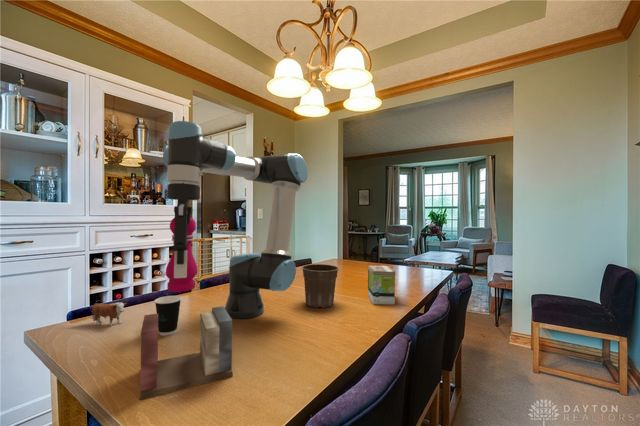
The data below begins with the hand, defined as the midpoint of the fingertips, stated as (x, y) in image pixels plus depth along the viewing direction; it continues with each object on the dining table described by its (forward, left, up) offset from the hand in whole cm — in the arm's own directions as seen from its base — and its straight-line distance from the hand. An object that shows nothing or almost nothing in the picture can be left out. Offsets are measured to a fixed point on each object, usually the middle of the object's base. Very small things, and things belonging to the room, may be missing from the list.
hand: (181, 274), depth 73 cm
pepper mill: (0, 0, -4) cm, 4 cm away
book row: (-1, +2, -24) cm, 24 cm away
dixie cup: (+3, -27, -24) cm, 36 cm away
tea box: (-84, -24, -24) cm, 91 cm away
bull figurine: (+21, -44, -24) cm, 54 cm away
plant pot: (-56, -31, -24) cm, 68 cm away
